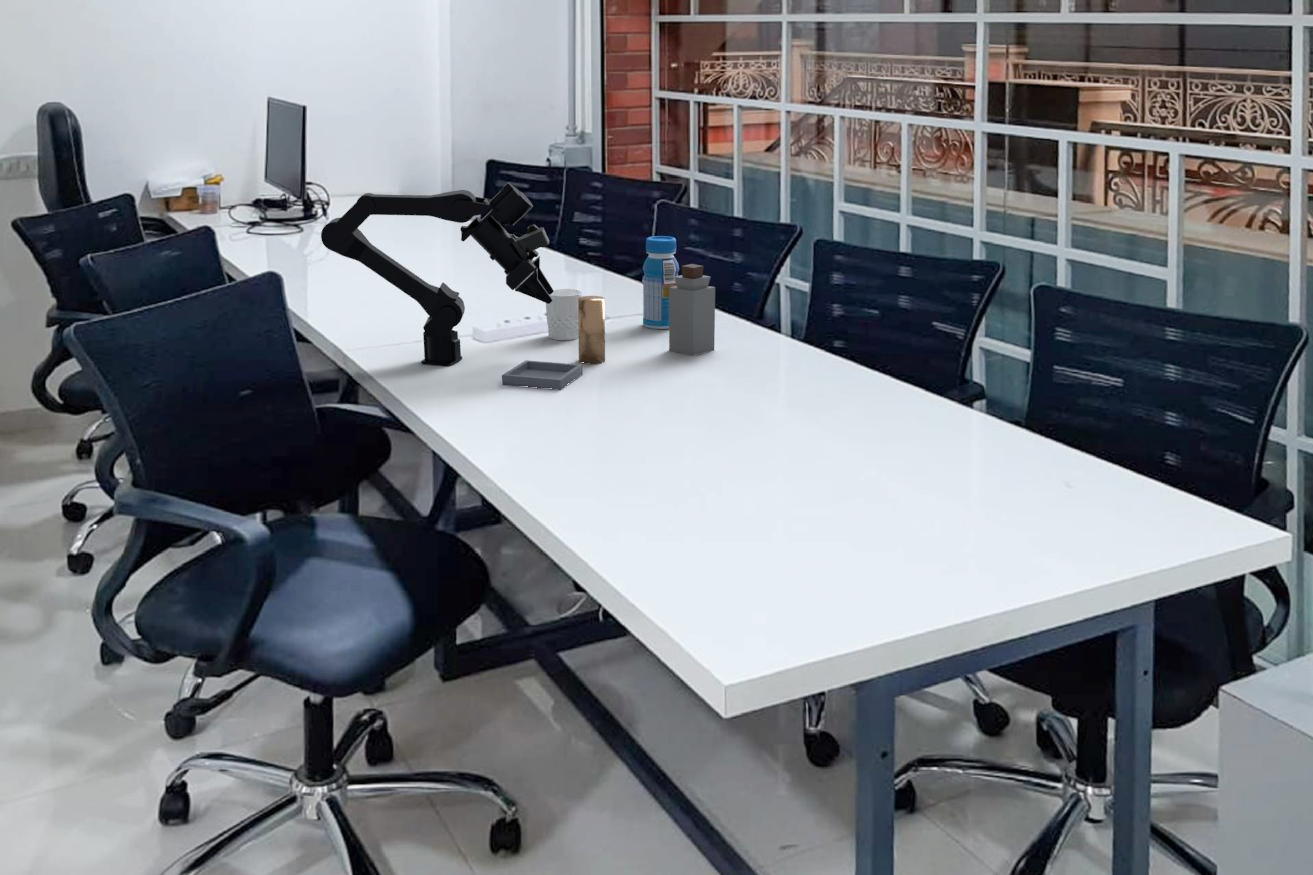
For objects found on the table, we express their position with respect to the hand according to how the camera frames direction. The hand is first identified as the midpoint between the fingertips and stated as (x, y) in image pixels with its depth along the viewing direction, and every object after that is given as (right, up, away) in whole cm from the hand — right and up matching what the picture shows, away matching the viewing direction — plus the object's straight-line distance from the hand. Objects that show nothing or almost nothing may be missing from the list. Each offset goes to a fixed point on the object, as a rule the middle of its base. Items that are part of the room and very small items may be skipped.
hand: (551, 297), depth 280 cm
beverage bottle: (+22, -3, +35) cm, 41 cm away
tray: (-1, -17, -10) cm, 20 cm away
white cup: (+1, -7, +24) cm, 25 cm away
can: (+8, -13, +4) cm, 15 cm away
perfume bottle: (+29, -10, +13) cm, 33 cm away
